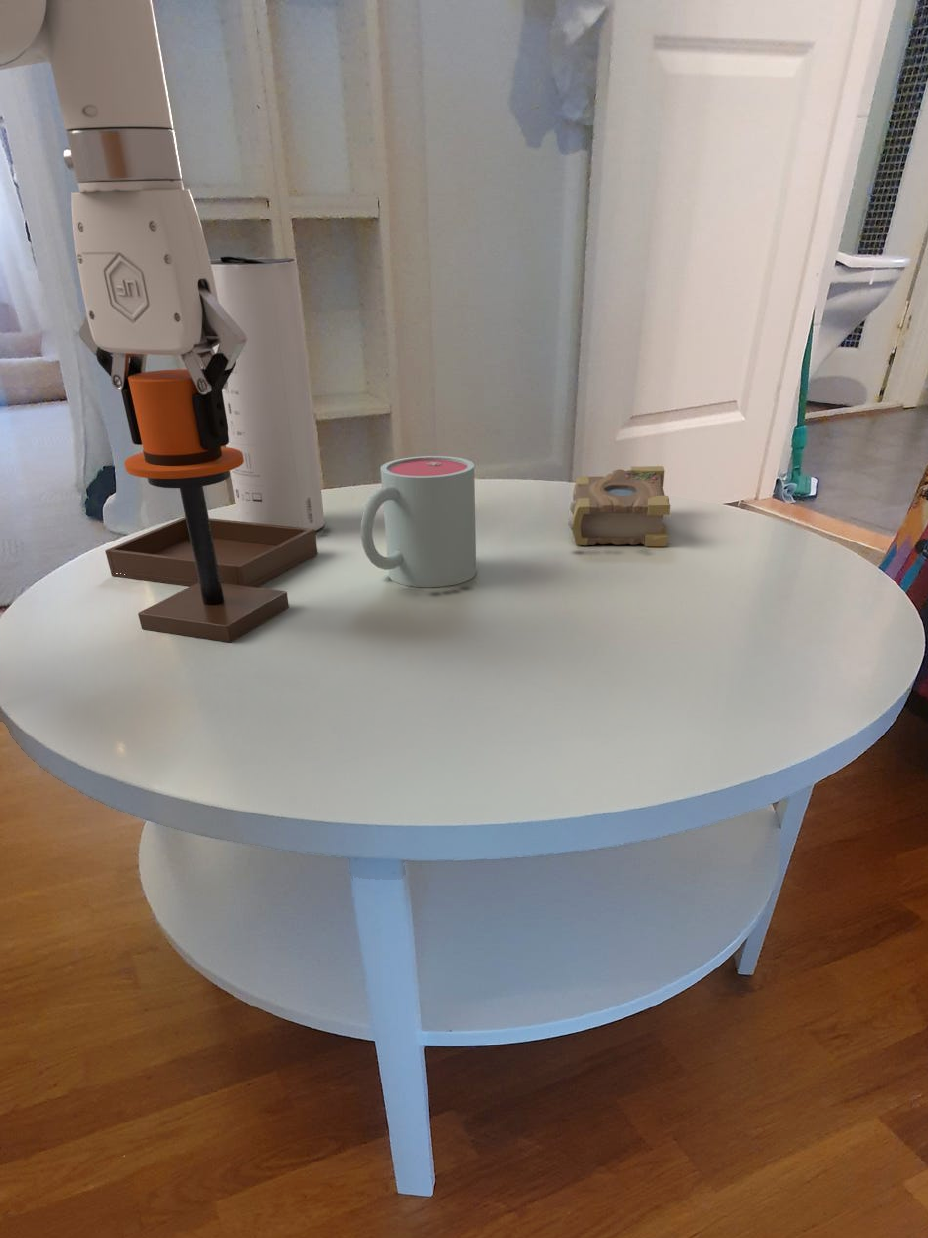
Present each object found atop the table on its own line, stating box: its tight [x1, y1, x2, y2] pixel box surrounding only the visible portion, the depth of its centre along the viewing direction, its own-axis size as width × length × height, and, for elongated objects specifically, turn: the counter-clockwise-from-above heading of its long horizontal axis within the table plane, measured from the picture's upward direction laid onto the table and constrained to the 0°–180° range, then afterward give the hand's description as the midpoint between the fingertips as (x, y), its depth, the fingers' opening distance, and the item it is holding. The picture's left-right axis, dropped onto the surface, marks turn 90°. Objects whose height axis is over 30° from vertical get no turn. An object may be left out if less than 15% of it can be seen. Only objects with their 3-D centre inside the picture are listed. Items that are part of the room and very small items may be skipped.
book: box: [567, 465, 671, 547], centre depth 107 cm, size 15×11×5 cm
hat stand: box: [137, 471, 290, 643], centre depth 85 cm, size 10×10×13 cm
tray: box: [105, 516, 319, 588], centre depth 101 cm, size 17×14×3 cm
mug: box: [360, 455, 477, 588], centre depth 94 cm, size 14×9×10 cm
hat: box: [123, 368, 244, 479], centre depth 79 cm, size 10×10×7 cm
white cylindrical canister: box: [210, 255, 325, 532], centre depth 104 cm, size 11×10×26 cm
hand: (181, 442), depth 80 cm, fingers closed on hat, 6 cm apart
